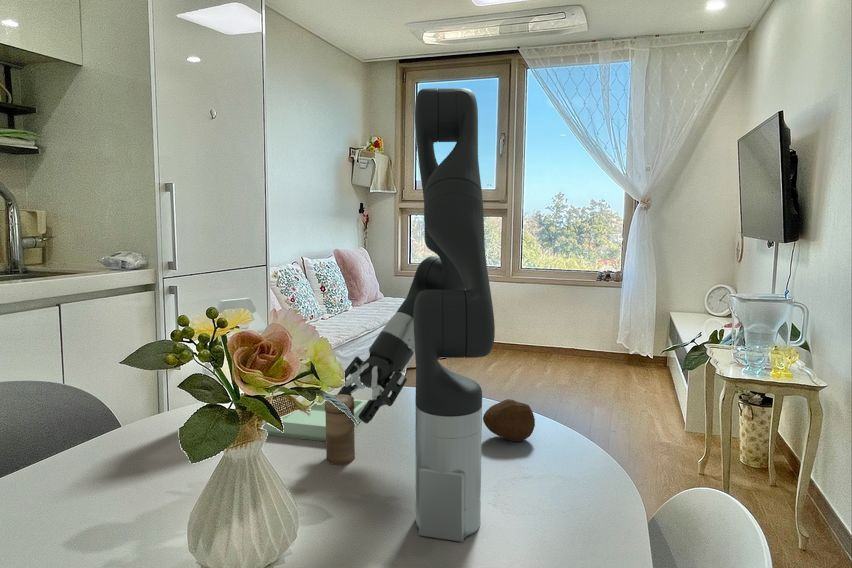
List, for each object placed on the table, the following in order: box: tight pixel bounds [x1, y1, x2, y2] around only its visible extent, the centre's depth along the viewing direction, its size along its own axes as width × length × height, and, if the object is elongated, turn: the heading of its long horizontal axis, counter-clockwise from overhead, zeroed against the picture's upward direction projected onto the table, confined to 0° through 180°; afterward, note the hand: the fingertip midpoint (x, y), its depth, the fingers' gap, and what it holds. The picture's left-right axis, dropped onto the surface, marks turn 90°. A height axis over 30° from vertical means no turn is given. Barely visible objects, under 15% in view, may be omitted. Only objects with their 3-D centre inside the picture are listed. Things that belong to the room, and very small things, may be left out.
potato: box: [482, 398, 536, 442], centre depth 107 cm, size 7×10×8 cm
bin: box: [263, 398, 370, 442], centre depth 115 cm, size 16×16×3 cm
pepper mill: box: [325, 394, 356, 466], centre depth 98 cm, size 5×5×11 cm
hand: (348, 414), depth 99 cm, fingers open, 8 cm apart
